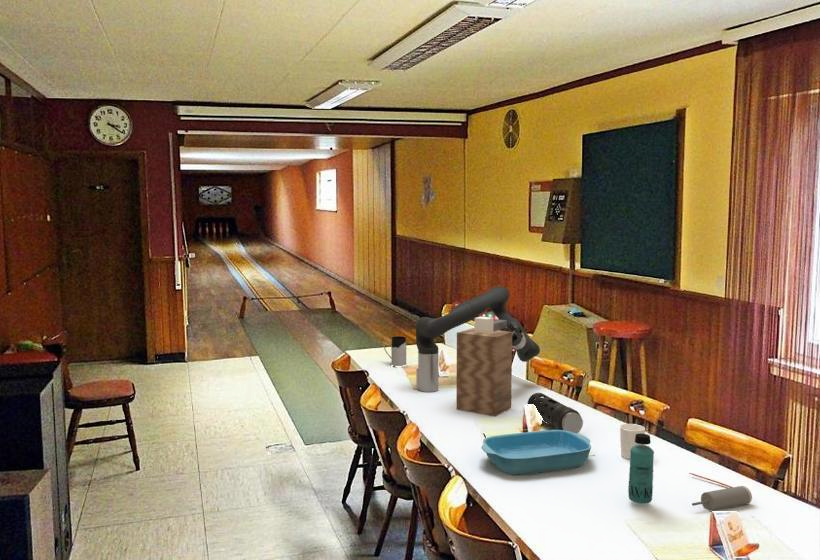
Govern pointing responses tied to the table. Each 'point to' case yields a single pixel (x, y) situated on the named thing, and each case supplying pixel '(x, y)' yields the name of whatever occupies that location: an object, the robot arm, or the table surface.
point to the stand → (484, 372)
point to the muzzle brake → (557, 413)
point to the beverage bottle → (641, 470)
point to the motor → (724, 496)
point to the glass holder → (397, 350)
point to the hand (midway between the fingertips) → (500, 324)
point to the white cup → (629, 438)
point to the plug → (488, 325)
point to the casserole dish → (537, 451)
